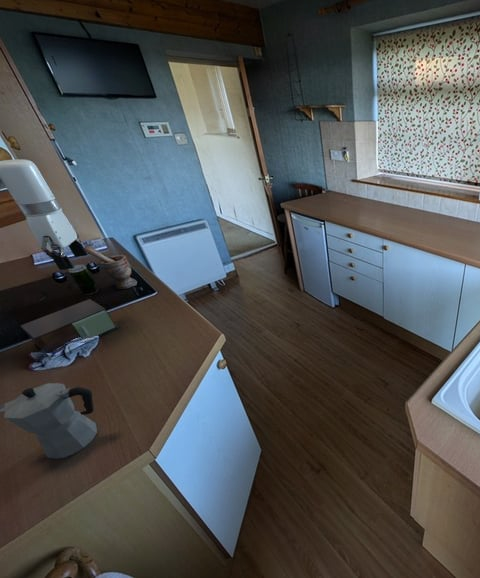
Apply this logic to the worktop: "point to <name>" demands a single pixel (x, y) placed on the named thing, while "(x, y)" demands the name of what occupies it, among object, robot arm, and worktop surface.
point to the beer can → (84, 279)
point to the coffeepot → (53, 418)
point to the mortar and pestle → (115, 268)
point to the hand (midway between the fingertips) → (74, 262)
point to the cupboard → (61, 325)
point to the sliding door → (93, 325)
